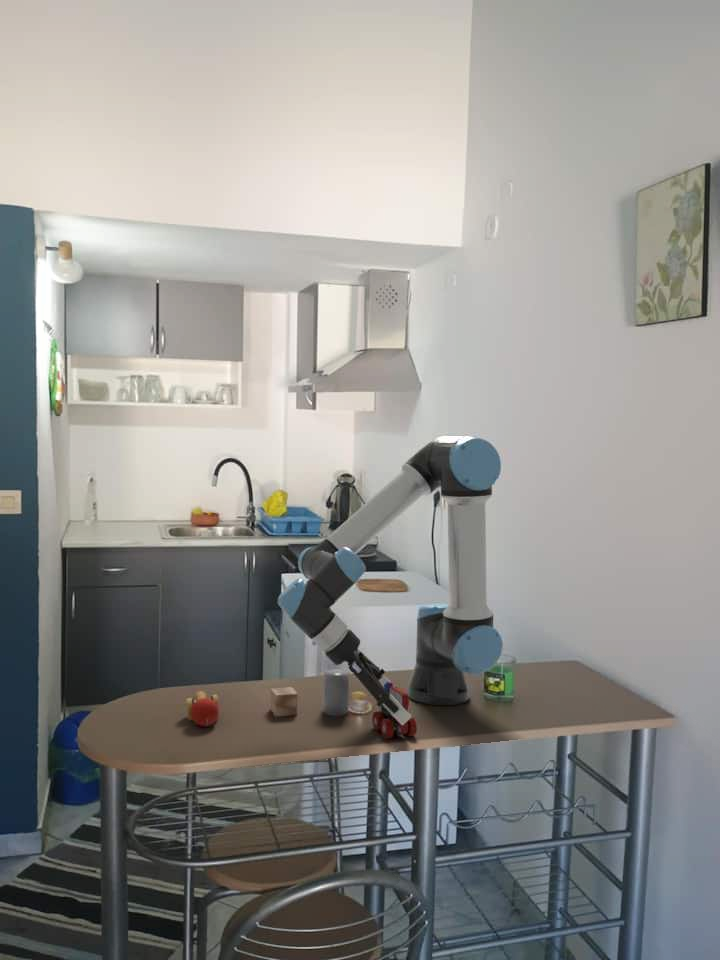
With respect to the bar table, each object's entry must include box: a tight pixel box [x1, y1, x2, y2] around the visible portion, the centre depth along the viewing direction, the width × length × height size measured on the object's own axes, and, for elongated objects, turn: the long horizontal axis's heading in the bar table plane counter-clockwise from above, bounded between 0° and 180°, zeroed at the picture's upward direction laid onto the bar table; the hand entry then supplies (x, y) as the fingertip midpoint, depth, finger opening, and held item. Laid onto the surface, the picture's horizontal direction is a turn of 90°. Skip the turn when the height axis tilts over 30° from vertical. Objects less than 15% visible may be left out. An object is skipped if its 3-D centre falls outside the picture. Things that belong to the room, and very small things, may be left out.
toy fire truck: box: [371, 681, 418, 740], centre depth 182 cm, size 7×12×10 cm, turn 21°
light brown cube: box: [269, 686, 298, 718], centre depth 192 cm, size 5×5×5 cm
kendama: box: [185, 690, 221, 728], centre depth 188 cm, size 8×6×18 cm
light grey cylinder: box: [322, 668, 351, 717], centre depth 194 cm, size 6×6×9 cm
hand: (403, 710), depth 182 cm, fingers open, 13 cm apart
